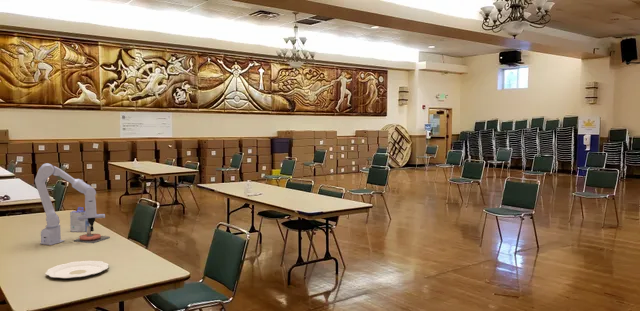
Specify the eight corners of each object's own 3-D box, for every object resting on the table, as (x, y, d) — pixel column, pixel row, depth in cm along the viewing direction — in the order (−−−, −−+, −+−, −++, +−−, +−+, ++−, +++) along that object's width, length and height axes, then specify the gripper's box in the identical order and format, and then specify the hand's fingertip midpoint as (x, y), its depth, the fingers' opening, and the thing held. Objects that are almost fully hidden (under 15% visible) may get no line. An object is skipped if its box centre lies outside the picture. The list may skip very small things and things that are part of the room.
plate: (92, 261, 232) (92, 257, 231) (119, 271, 216) (119, 267, 216) (36, 273, 212) (36, 269, 212) (60, 286, 196) (60, 281, 196)
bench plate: (93, 243, 266) (93, 241, 266) (73, 241, 270) (73, 239, 270) (109, 237, 278) (109, 236, 278) (90, 236, 282) (90, 234, 282)
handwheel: (102, 238, 272) (102, 228, 271) (81, 241, 265) (80, 230, 265) (98, 234, 281) (98, 225, 280) (78, 237, 274) (77, 227, 274)
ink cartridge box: (90, 230, 299) (89, 207, 298) (86, 232, 293) (85, 208, 292) (74, 229, 299) (74, 206, 298) (70, 231, 293) (69, 208, 292)
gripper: (104, 205, 282) (105, 228, 283) (76, 207, 276) (78, 231, 277) (104, 207, 276) (105, 230, 277) (76, 209, 270) (77, 233, 271)
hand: (91, 231), depth 277 cm, fingers closed, pressing on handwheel
